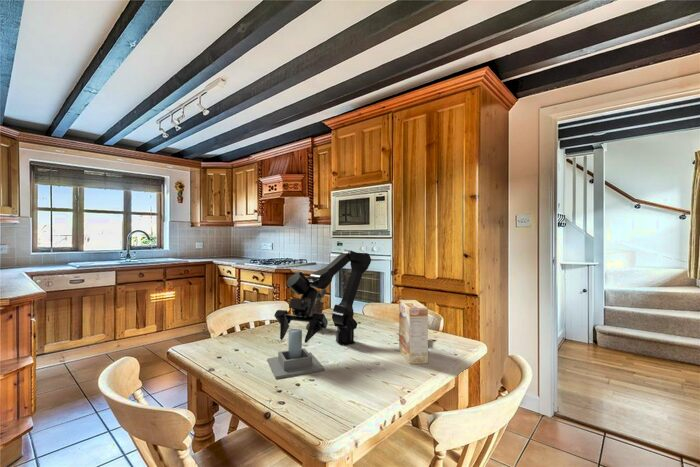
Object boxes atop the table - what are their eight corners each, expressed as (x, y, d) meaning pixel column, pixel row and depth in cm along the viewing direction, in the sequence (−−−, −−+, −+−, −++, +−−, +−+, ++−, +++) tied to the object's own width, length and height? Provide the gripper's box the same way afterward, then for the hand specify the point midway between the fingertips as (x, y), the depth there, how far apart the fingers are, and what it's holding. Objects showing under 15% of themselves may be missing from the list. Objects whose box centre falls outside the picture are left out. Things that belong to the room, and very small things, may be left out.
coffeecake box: (398, 349, 127) (398, 299, 127) (416, 348, 128) (416, 299, 128) (408, 364, 112) (408, 308, 112) (428, 363, 113) (428, 307, 113)
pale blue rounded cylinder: (299, 359, 113) (300, 328, 114) (303, 364, 109) (303, 332, 109) (286, 361, 112) (287, 329, 112) (289, 366, 108) (290, 333, 108)
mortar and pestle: (331, 327, 158) (331, 286, 158) (324, 332, 149) (324, 289, 150) (309, 325, 161) (309, 285, 161) (301, 330, 153) (302, 287, 153)
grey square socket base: (310, 354, 121) (310, 344, 121) (324, 370, 106) (324, 359, 106) (267, 360, 115) (267, 350, 115) (275, 379, 100) (275, 366, 100)
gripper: (277, 287, 117) (259, 326, 107) (324, 290, 112) (311, 331, 101) (287, 304, 125) (272, 342, 114) (332, 308, 119) (321, 348, 108)
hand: (293, 340), depth 109 cm, fingers open, 9 cm apart
